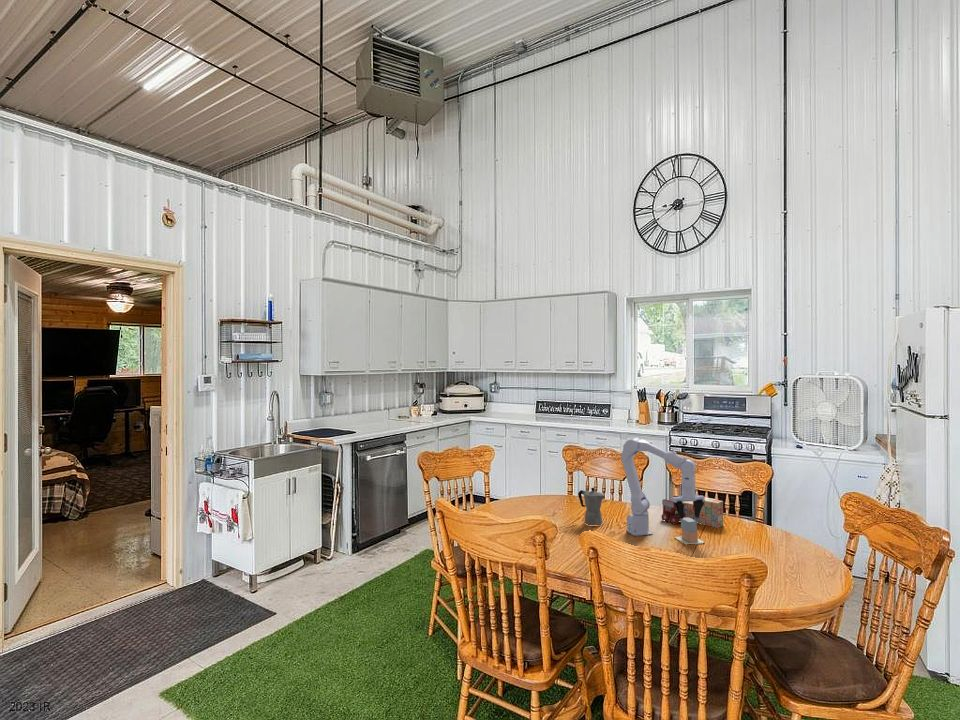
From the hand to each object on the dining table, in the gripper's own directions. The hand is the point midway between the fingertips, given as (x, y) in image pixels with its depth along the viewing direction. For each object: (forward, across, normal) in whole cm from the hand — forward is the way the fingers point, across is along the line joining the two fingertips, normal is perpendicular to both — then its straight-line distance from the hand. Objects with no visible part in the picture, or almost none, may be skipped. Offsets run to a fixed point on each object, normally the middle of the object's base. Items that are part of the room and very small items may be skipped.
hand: (688, 517), depth 224 cm
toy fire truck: (+11, +8, +27) cm, 30 cm away
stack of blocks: (+11, +21, +24) cm, 34 cm away
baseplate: (+10, 0, 0) cm, 10 cm away
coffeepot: (+11, -32, +33) cm, 48 cm away
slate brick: (+5, 0, 0) cm, 5 cm away
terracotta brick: (+10, 0, 0) cm, 10 cm away
